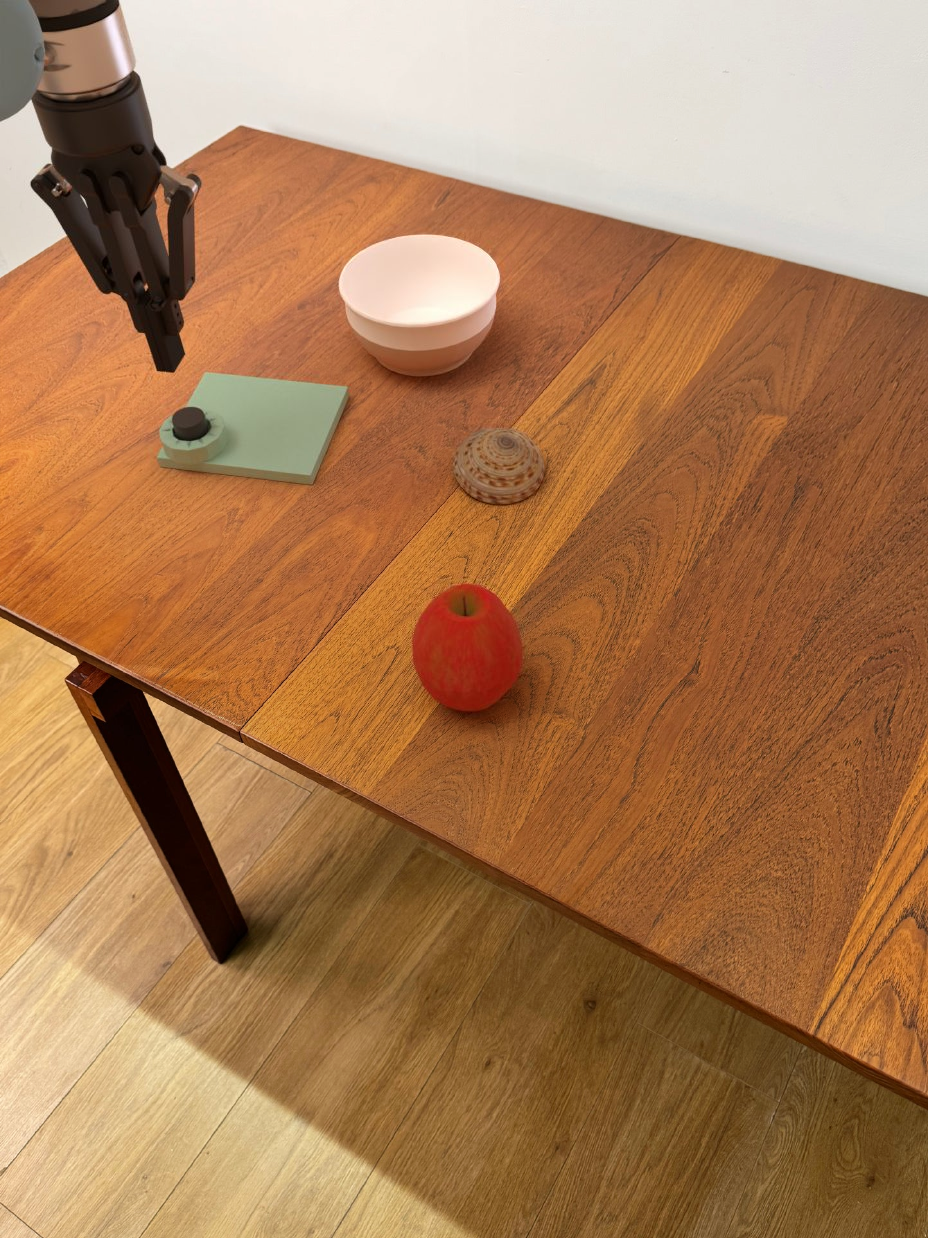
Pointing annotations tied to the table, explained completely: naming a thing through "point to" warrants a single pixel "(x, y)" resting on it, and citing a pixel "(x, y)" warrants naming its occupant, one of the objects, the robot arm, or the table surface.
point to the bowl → (420, 301)
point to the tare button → (190, 424)
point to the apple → (467, 648)
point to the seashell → (498, 465)
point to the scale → (258, 428)
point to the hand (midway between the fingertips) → (171, 362)
